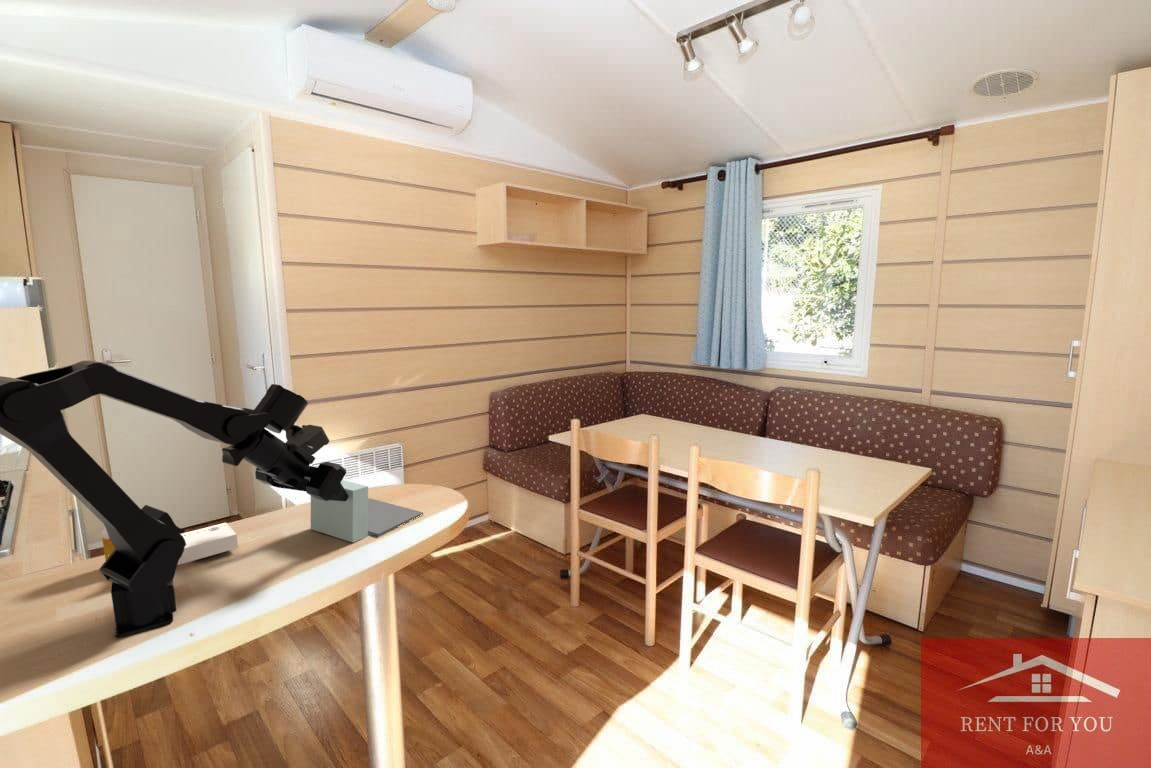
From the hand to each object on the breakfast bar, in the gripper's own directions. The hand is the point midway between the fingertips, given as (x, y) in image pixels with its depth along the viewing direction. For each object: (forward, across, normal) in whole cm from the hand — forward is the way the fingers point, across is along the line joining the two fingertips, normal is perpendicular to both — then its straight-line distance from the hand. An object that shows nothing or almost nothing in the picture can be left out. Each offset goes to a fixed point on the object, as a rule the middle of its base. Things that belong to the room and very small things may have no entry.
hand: (330, 494), depth 107 cm
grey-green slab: (+7, 0, +5) cm, 8 cm away
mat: (+13, 0, -1) cm, 13 cm away
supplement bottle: (-12, +20, +24) cm, 33 cm away
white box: (-7, +14, +19) cm, 25 cm away
